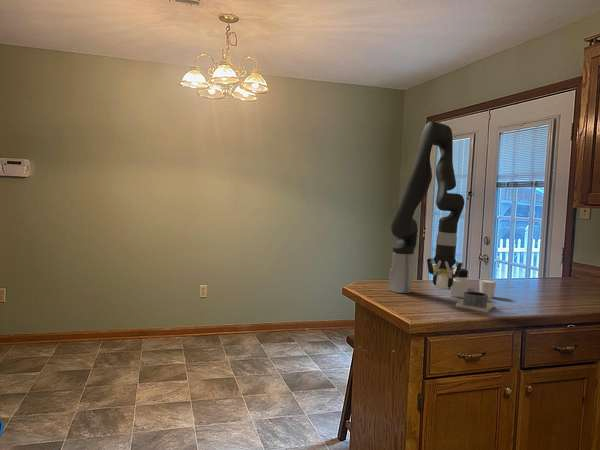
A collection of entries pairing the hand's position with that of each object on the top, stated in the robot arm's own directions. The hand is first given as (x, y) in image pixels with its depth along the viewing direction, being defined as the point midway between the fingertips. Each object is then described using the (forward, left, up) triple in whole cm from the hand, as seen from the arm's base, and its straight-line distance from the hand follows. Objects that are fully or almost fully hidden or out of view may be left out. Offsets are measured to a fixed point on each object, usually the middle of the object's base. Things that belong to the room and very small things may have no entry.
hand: (442, 285), depth 181 cm
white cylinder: (+12, +30, -8) cm, 34 cm away
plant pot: (-10, +39, -8) cm, 42 cm away
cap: (0, 0, -1) cm, 1 cm away
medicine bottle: (+2, +22, -8) cm, 24 cm away
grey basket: (+12, +6, -8) cm, 15 cm away
